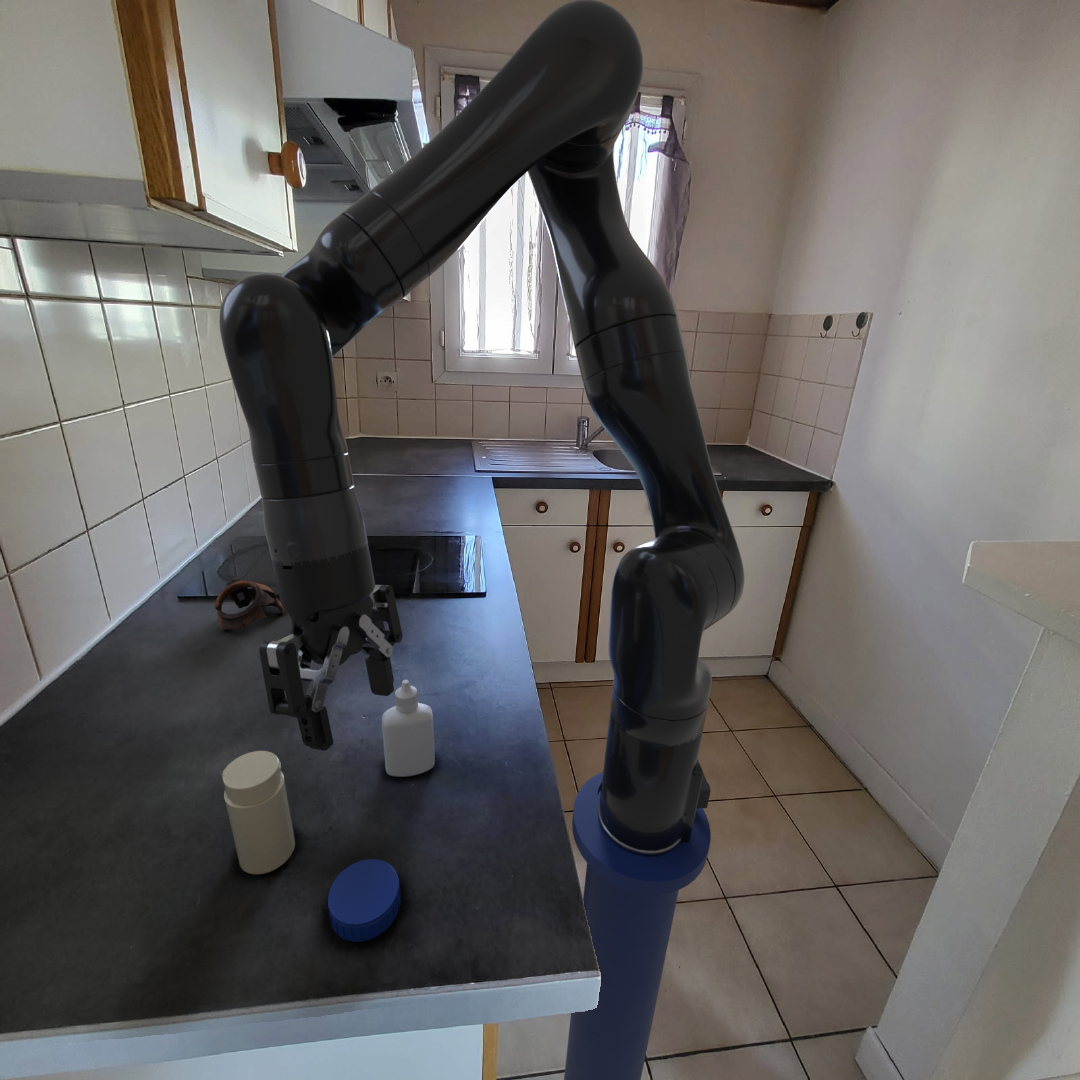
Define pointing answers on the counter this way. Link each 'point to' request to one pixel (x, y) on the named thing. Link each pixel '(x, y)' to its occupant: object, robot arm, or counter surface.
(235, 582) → the brown curved piece
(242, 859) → the jar
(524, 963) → the counter surface
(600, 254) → the robot arm
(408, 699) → the eye dropper bottle
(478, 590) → the counter surface
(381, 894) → the lid
